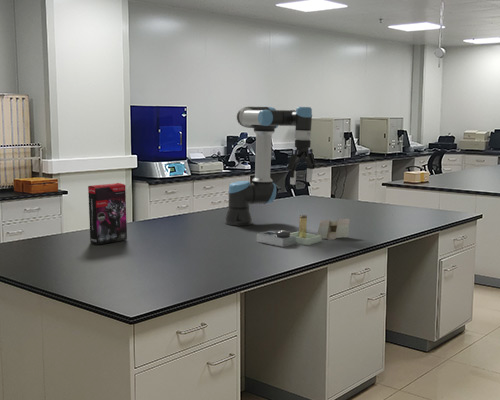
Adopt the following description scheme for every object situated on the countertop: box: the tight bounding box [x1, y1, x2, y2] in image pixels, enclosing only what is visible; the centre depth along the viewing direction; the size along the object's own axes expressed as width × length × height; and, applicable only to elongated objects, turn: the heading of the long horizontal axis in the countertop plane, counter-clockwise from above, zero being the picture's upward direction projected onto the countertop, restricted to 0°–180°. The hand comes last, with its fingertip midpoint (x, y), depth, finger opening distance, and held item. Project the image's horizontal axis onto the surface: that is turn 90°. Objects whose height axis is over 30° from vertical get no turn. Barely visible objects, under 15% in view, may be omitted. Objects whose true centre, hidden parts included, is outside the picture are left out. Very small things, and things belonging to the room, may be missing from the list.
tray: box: [290, 231, 322, 246], centre depth 299 cm, size 14×12×3 cm
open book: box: [316, 218, 350, 241], centre depth 311 cm, size 16×9×15 cm
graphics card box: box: [87, 182, 128, 246], centre depth 286 cm, size 17×7×27 cm, turn 137°
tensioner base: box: [256, 229, 296, 248], centre depth 294 cm, size 16×10×7 cm, turn 49°
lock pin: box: [298, 214, 308, 239], centre depth 298 cm, size 4×4×12 cm
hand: (301, 183), depth 296 cm, fingers open, 13 cm apart
